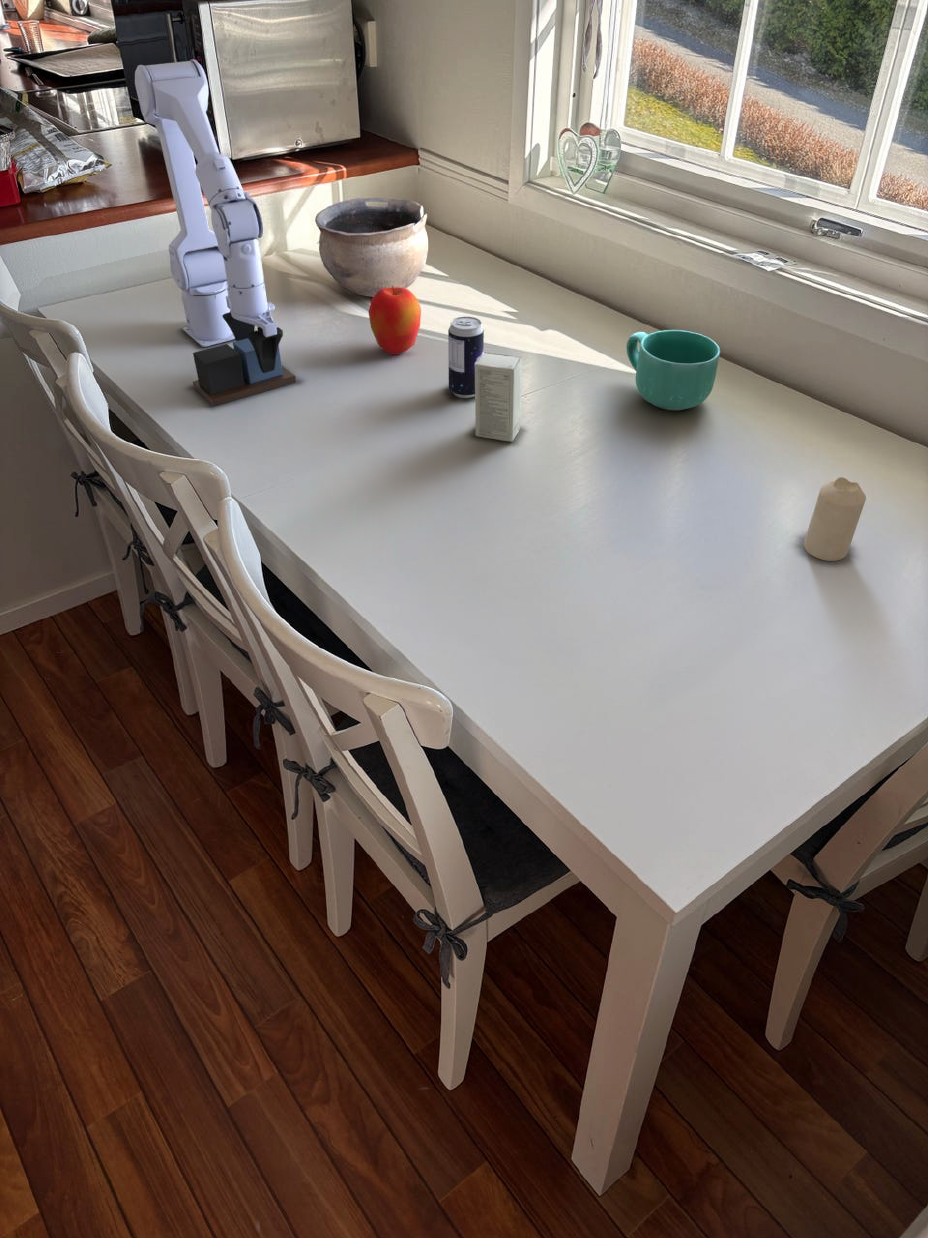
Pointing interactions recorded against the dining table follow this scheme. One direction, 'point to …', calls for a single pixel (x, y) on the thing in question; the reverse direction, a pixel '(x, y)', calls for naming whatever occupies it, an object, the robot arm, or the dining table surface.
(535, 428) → the dining table surface
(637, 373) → the mug
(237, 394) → the board
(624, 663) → the dining table surface
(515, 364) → the cosmetic box
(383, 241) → the ceramic bowl
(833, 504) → the candle
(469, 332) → the beverage can
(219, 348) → the dark grey cube
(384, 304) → the apple
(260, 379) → the slate block
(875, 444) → the dining table surface
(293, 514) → the dining table surface
